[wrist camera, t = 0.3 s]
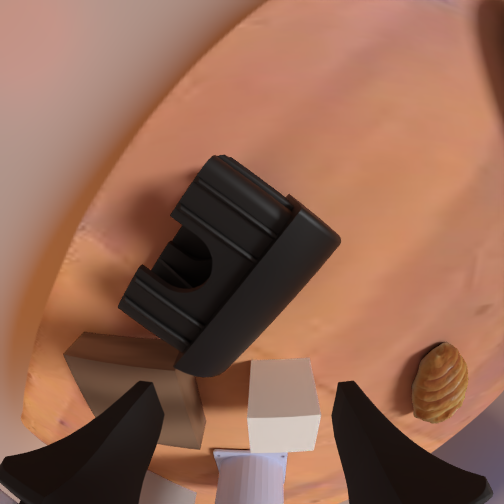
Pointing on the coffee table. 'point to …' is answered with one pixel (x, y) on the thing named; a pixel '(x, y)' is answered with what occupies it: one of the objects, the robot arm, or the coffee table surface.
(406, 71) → the coffee table surface
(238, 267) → the end cap
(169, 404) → the walnut base
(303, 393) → the white block
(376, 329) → the coffee table surface
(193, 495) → the three tier block tower
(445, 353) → the pastry
